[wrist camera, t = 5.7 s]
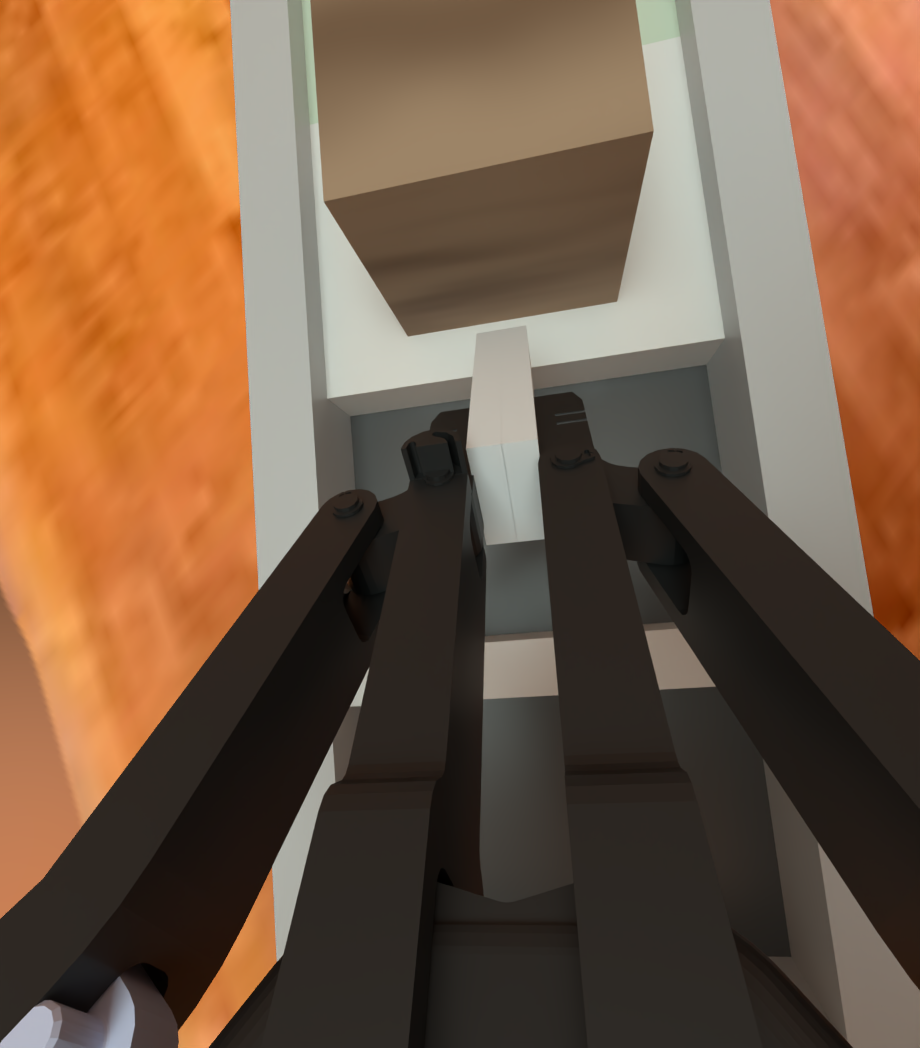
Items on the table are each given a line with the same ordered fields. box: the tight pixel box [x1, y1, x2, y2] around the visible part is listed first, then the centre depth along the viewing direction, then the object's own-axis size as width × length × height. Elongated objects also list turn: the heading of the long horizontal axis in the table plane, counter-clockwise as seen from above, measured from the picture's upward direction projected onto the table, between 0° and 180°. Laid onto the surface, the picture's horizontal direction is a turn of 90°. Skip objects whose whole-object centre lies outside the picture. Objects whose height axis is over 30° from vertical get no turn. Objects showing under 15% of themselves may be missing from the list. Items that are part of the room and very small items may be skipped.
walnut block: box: [310, 0, 654, 337], centre depth 18 cm, size 8×8×8 cm
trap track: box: [230, 0, 920, 1048], centre depth 21 cm, size 50×20×7 cm, turn 5°
